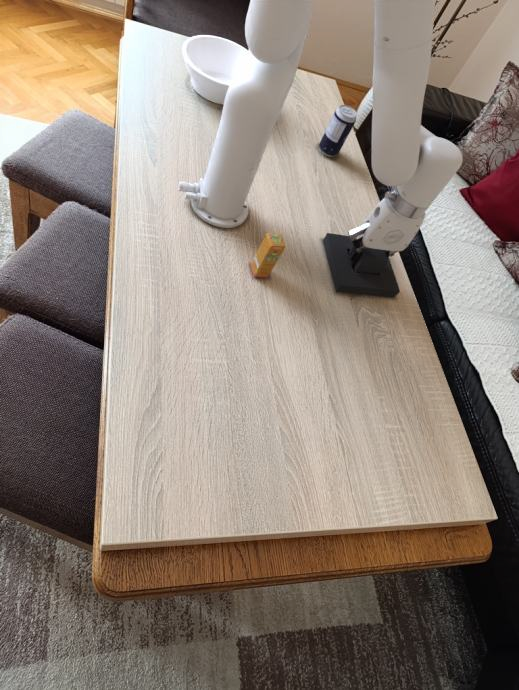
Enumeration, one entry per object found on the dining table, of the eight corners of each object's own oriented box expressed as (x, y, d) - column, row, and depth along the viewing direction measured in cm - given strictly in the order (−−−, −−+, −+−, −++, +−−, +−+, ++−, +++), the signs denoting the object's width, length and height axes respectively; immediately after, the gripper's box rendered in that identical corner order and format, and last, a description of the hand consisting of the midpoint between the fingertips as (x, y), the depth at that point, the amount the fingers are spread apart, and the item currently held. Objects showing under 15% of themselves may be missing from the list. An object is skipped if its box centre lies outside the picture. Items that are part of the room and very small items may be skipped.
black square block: (354, 272, 108) (364, 258, 105) (348, 251, 111) (358, 237, 108) (377, 274, 110) (388, 261, 107) (371, 254, 113) (381, 241, 110)
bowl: (210, 123, 123) (218, 93, 116) (159, 71, 128) (164, 38, 121) (269, 108, 135) (280, 80, 128) (221, 60, 139) (229, 31, 133)
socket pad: (335, 292, 106) (340, 285, 104) (322, 240, 114) (327, 232, 112) (394, 298, 111) (400, 291, 109) (378, 248, 119) (383, 240, 117)
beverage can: (337, 161, 132) (359, 121, 122) (318, 154, 131) (338, 114, 121) (336, 147, 135) (357, 108, 125) (317, 141, 134) (336, 100, 124)
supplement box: (254, 278, 101) (270, 245, 93) (250, 265, 103) (265, 231, 95) (269, 278, 102) (286, 245, 94) (264, 265, 104) (281, 231, 96)
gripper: (374, 208, 91) (332, 271, 106) (451, 221, 97) (401, 279, 111) (364, 180, 95) (325, 244, 110) (439, 193, 101) (392, 253, 115)
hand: (364, 261), depth 110 cm, fingers closed on black square block, 5 cm apart
